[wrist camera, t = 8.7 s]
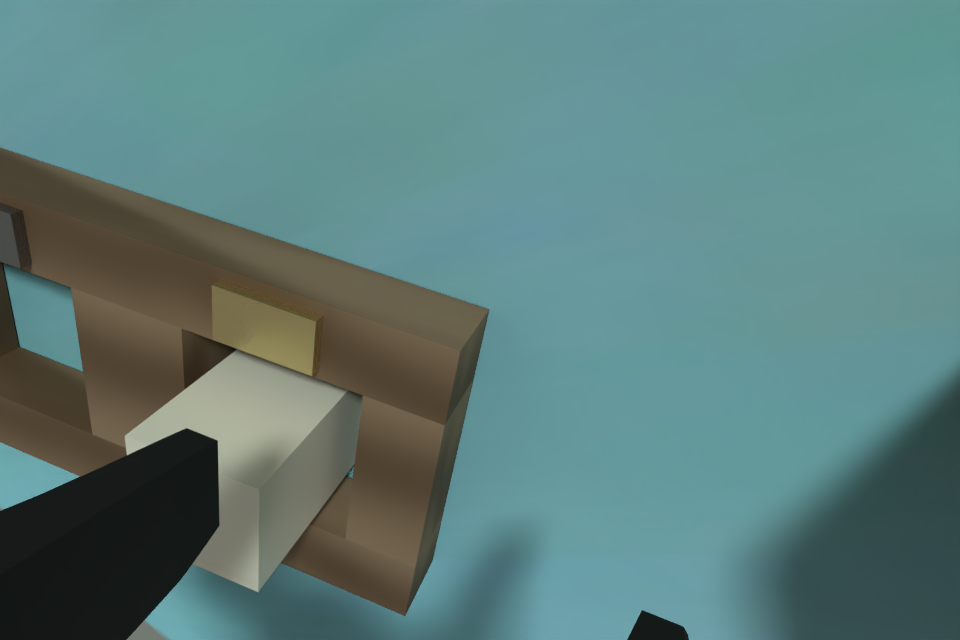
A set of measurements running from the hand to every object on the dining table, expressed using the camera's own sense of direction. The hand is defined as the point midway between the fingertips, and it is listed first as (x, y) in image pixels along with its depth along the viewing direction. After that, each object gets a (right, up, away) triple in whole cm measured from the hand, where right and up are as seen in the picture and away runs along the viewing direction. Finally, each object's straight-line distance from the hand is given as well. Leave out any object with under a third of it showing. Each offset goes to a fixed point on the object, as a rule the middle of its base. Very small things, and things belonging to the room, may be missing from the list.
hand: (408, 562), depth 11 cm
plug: (-5, +1, +12) cm, 13 cm away
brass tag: (-5, +4, +8) cm, 10 cm away
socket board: (-9, +3, +13) cm, 16 cm away
